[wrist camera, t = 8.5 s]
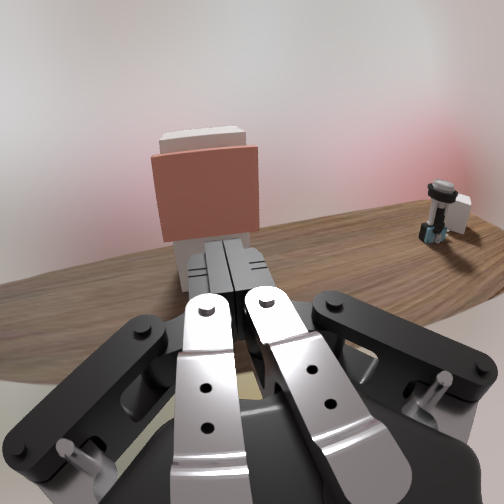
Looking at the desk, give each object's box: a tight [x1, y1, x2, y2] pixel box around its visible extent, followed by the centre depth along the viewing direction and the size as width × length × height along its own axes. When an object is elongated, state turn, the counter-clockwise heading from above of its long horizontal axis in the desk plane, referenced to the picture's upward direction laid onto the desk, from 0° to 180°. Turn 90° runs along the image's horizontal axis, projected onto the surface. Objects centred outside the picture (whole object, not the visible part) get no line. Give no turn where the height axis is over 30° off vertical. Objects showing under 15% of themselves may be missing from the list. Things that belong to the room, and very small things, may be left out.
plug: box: [151, 145, 259, 242], centre depth 28 cm, size 8×9×8 cm
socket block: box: [159, 126, 250, 292], centre depth 32 cm, size 7×8×17 cm
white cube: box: [445, 193, 471, 235], centre depth 46 cm, size 6×6×6 cm
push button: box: [419, 179, 458, 244], centre depth 40 cm, size 7×5×10 cm
